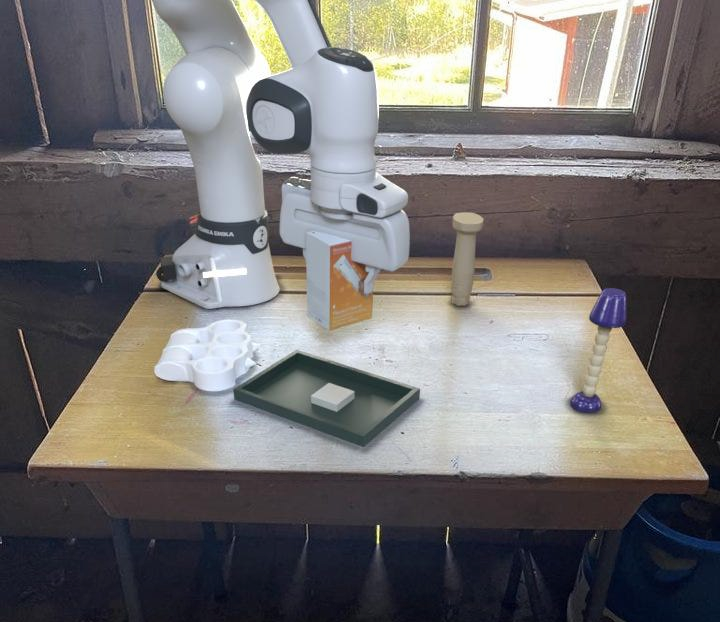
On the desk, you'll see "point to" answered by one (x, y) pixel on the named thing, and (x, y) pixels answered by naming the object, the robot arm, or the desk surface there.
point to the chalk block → (332, 397)
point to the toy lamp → (600, 345)
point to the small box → (334, 282)
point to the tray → (308, 375)
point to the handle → (464, 256)
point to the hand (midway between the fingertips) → (341, 285)
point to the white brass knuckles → (208, 355)
